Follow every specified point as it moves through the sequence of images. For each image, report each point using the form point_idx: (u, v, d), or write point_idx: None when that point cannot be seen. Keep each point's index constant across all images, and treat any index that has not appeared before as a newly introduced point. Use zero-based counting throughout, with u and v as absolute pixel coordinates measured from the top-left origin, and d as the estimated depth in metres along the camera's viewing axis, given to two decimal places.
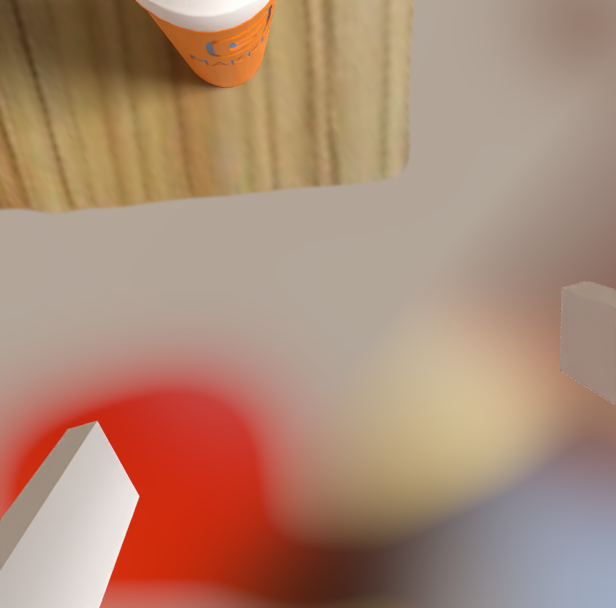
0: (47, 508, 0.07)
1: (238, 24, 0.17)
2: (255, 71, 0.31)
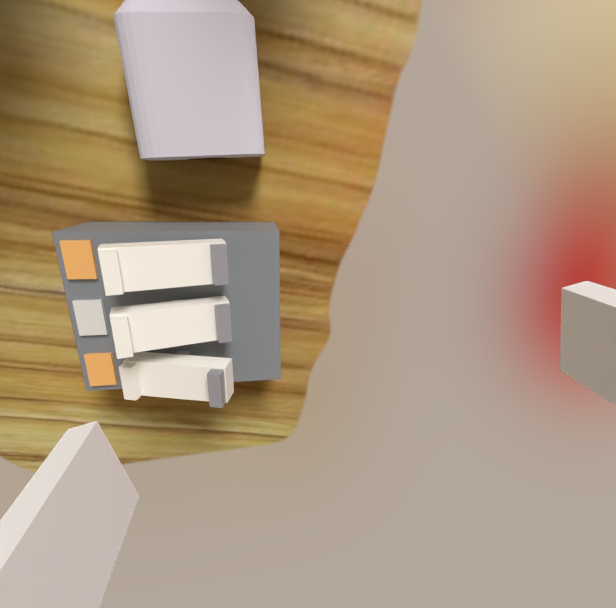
0: (47, 508, 0.07)
1: None
2: None
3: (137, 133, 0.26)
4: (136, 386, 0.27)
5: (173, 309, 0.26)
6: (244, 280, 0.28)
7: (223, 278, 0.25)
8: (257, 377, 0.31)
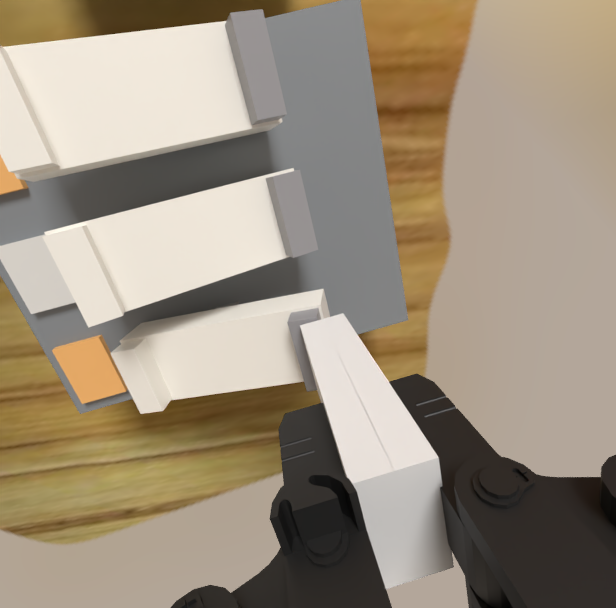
0: (339, 359, 0.09)
1: None
2: None
3: None
4: (155, 384, 0.14)
5: (183, 199, 0.12)
6: (310, 131, 0.14)
7: (273, 100, 0.11)
8: (367, 325, 0.17)
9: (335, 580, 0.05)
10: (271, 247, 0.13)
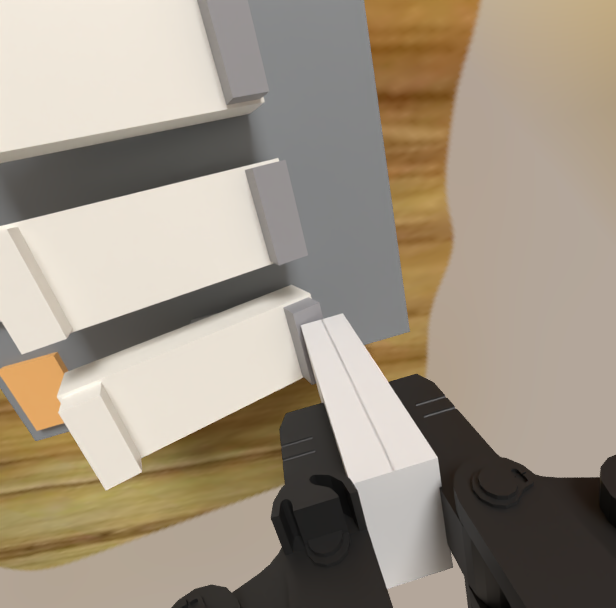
0: (340, 358, 0.09)
1: None
2: None
3: None
4: (126, 439, 0.10)
5: (143, 195, 0.10)
6: (298, 115, 0.12)
7: (251, 73, 0.09)
8: (364, 338, 0.15)
9: (336, 580, 0.05)
10: (252, 252, 0.11)
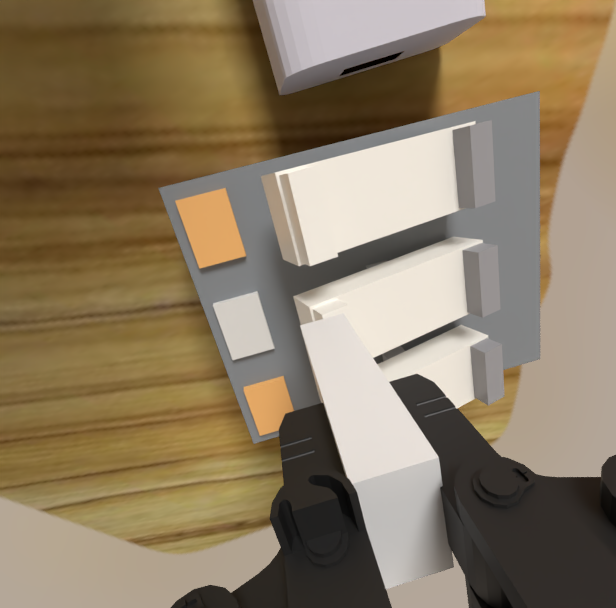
0: (340, 358, 0.09)
1: None
2: None
3: (278, 29, 0.14)
4: None
5: (404, 272, 0.14)
6: None
7: (487, 191, 0.13)
8: (505, 364, 0.19)
9: (335, 580, 0.05)
10: (458, 306, 0.15)
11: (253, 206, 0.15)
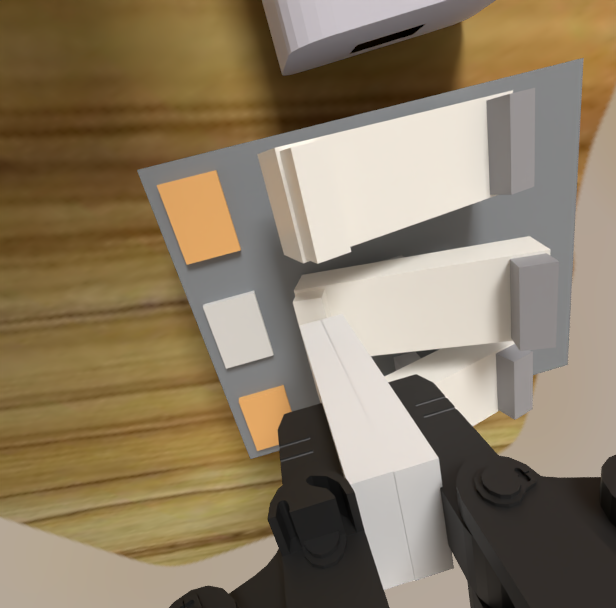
0: (339, 359, 0.09)
1: None
2: None
3: None
4: None
5: (412, 274, 0.12)
6: None
7: (526, 174, 0.11)
8: None
9: (333, 581, 0.05)
10: (495, 328, 0.12)
11: (249, 192, 0.13)
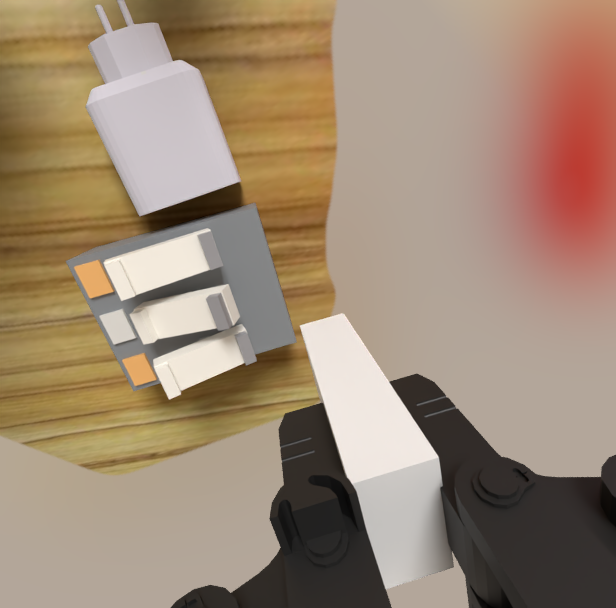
0: (339, 358, 0.09)
1: None
2: None
3: (131, 196, 0.30)
4: (176, 382, 0.30)
5: (177, 301, 0.29)
6: (238, 260, 0.31)
7: (216, 261, 0.28)
8: (275, 345, 0.34)
9: (335, 580, 0.05)
10: (214, 322, 0.29)
11: None
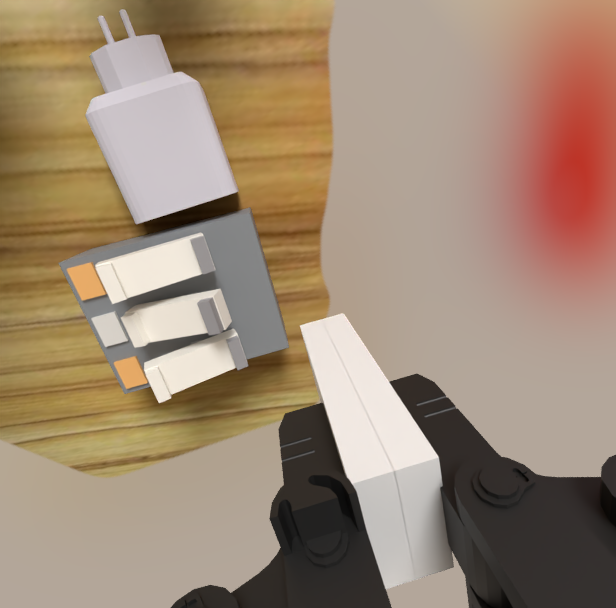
0: (340, 358, 0.09)
1: None
2: None
3: (128, 204, 0.30)
4: (166, 386, 0.30)
5: (168, 305, 0.29)
6: (231, 265, 0.31)
7: (209, 266, 0.28)
8: (267, 350, 0.34)
9: (335, 580, 0.05)
10: (205, 326, 0.29)
11: None
